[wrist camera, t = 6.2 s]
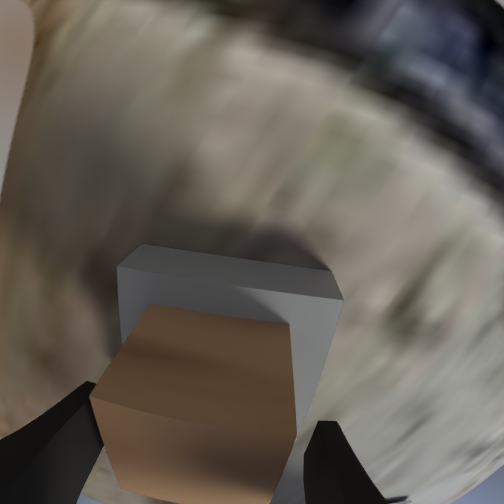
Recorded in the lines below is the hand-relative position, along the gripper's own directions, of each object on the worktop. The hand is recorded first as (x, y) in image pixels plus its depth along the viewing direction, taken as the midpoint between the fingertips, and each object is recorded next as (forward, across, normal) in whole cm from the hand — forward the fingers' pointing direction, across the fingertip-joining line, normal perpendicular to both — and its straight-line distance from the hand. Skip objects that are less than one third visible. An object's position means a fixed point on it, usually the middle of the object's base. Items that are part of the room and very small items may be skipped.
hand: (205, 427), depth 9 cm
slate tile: (+6, 0, 0) cm, 6 cm away
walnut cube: (+3, 0, 0) cm, 3 cm away
